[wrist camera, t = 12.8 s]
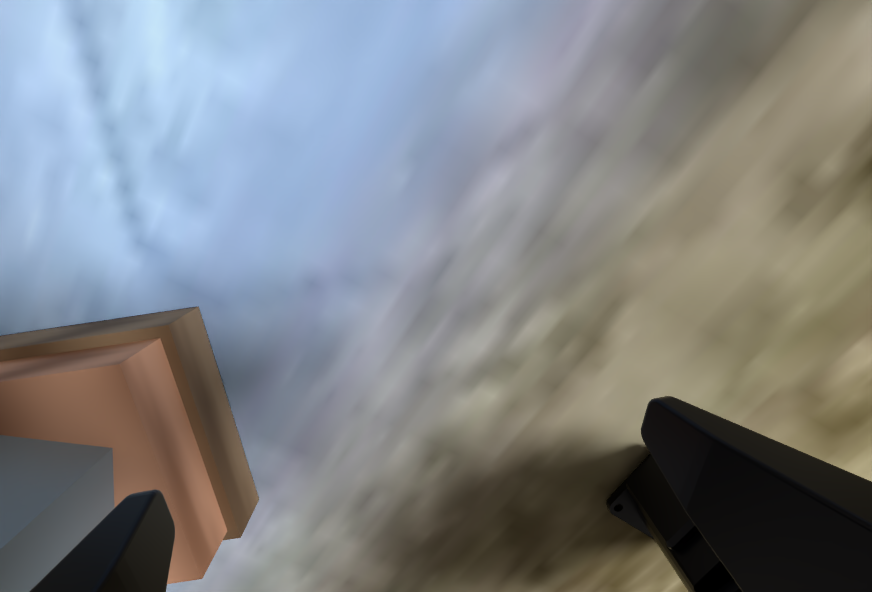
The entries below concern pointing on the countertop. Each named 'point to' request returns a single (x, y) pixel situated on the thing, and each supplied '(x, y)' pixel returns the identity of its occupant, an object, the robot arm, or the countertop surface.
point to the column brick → (48, 504)
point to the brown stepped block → (139, 418)
